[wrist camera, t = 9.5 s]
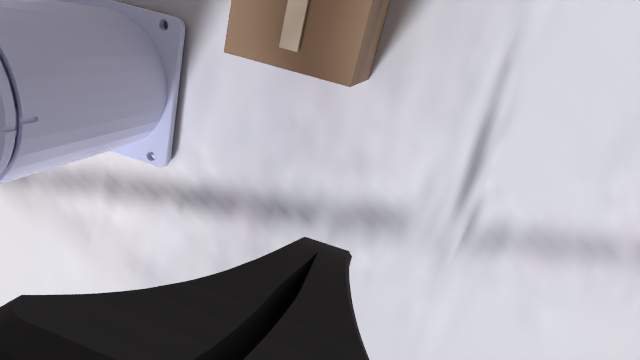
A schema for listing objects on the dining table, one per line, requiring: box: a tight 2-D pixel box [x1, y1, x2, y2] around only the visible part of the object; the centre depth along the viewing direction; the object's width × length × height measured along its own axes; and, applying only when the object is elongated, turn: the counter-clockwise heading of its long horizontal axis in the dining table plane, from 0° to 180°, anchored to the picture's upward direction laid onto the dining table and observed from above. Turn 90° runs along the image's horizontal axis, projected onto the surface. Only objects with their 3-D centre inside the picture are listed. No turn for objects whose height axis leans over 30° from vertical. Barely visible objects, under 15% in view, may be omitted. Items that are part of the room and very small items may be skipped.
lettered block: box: [224, 0, 390, 87], centre depth 16 cm, size 5×5×5 cm
